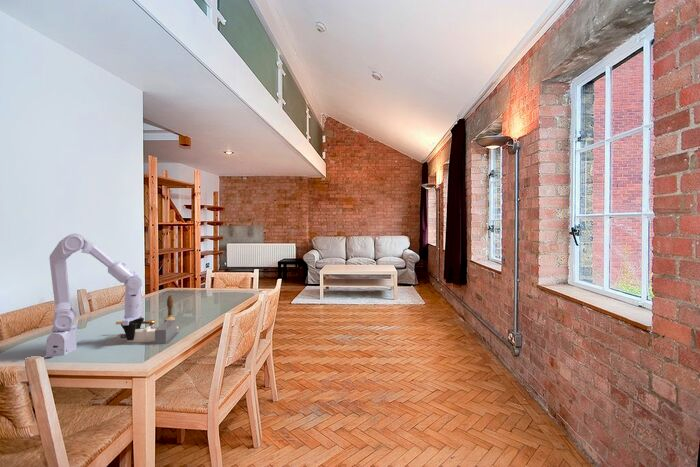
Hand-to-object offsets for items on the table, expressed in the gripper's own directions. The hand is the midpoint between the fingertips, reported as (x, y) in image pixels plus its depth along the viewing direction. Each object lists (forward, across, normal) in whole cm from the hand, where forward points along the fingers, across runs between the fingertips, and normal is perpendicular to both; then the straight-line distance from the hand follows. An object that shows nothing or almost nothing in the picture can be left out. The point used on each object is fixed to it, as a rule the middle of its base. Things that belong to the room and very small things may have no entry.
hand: (132, 338), depth 150 cm
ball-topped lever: (-4, +9, +2) cm, 10 cm away
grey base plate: (+2, +2, -3) cm, 4 cm away
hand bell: (+2, +17, -9) cm, 19 cm away
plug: (+1, 0, -4) cm, 4 cm away
